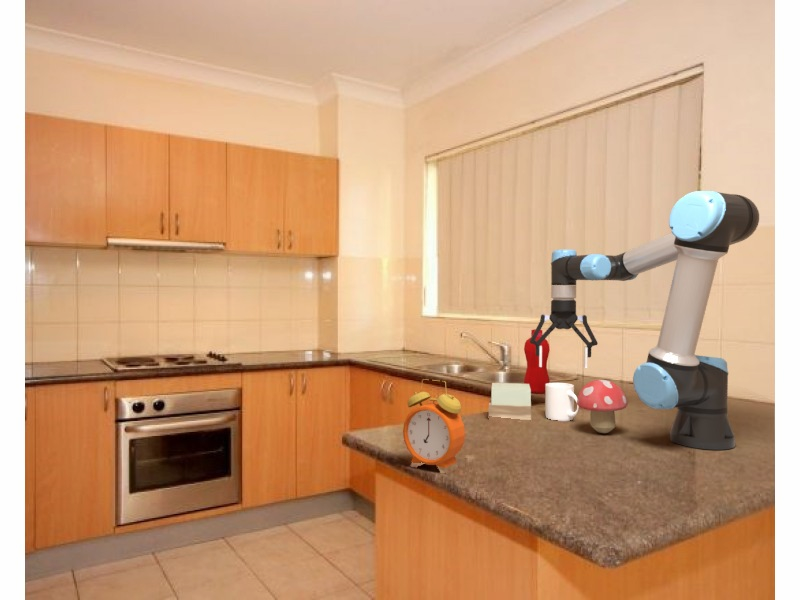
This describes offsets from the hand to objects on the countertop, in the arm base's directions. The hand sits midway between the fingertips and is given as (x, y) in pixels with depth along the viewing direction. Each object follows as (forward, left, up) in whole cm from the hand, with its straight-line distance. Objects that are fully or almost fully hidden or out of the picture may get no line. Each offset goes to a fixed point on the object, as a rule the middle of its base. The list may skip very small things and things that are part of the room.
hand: (562, 367), depth 176 cm
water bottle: (+49, +7, -17) cm, 52 cm away
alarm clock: (-56, +32, -17) cm, 67 cm away
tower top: (+2, +16, -12) cm, 20 cm away
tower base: (+1, +16, -17) cm, 23 cm away
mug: (0, 0, -17) cm, 17 cm away
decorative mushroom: (-16, -10, -17) cm, 25 cm away
